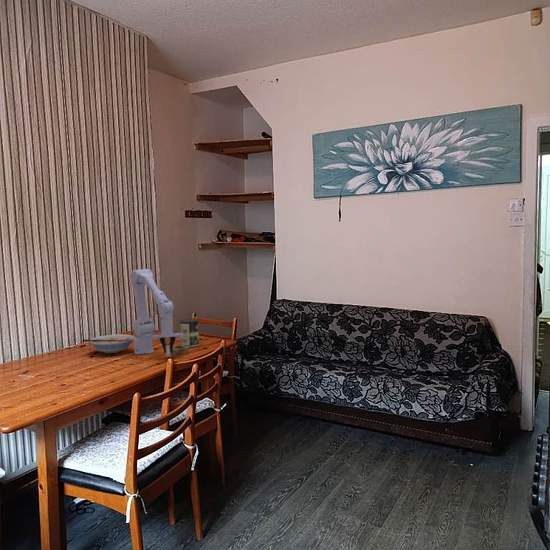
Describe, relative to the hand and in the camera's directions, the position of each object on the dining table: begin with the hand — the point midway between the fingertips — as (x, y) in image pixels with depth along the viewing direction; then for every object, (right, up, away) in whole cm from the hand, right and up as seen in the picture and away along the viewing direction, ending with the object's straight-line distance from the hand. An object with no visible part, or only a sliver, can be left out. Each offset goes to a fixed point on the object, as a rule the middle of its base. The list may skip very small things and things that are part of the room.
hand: (168, 352), depth 248 cm
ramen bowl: (-33, -2, +14) cm, 36 cm away
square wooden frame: (+4, -2, +9) cm, 10 cm away
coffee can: (+7, 0, +26) cm, 26 cm away
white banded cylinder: (0, -2, 0) cm, 2 cm away
